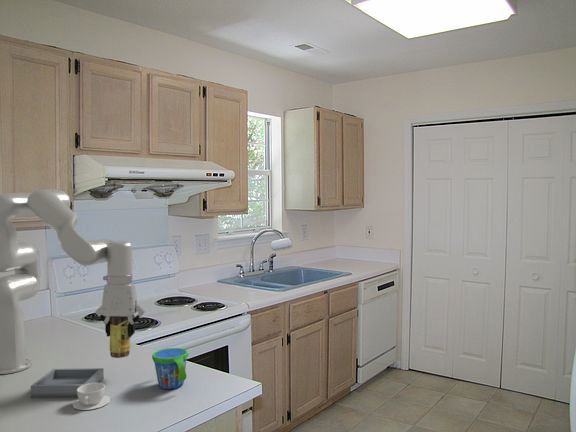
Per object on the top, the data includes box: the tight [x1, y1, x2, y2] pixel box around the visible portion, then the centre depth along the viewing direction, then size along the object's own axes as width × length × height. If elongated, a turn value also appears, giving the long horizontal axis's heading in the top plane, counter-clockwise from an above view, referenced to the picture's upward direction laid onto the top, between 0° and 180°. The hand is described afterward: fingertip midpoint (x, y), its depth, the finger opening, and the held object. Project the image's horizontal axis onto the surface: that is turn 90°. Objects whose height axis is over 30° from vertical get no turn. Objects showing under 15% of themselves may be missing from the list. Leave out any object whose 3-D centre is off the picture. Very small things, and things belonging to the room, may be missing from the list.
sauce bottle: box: [109, 316, 131, 359], centre depth 160 cm, size 7×6×20 cm
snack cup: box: [151, 347, 189, 390], centre depth 153 cm, size 16×10×10 cm
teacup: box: [72, 382, 111, 411], centre depth 141 cm, size 10×10×5 cm
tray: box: [30, 367, 105, 399], centre depth 152 cm, size 16×14×4 cm
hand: (120, 334), depth 160 cm, fingers closed on sauce bottle, 6 cm apart
